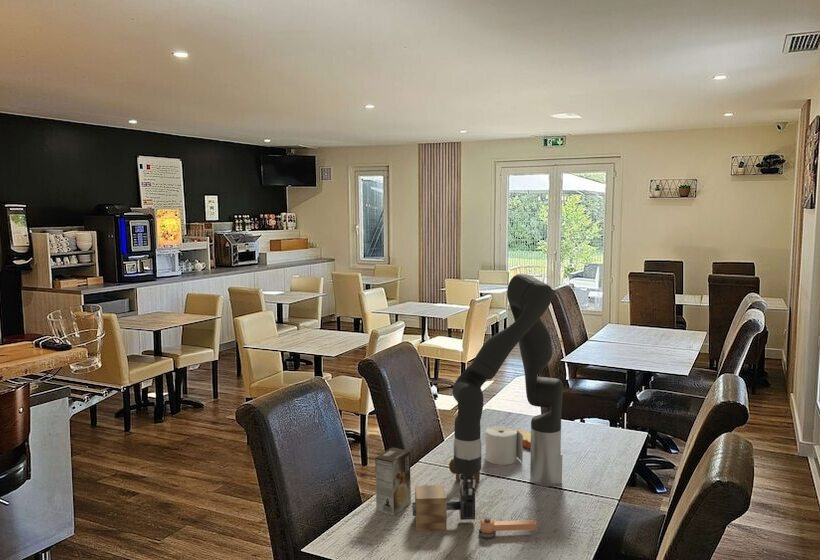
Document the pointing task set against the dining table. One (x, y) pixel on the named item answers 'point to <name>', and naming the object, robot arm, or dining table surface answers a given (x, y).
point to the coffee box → (393, 481)
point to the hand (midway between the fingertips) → (467, 513)
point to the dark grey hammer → (455, 507)
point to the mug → (451, 467)
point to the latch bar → (506, 525)
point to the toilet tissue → (503, 445)
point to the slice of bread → (526, 439)
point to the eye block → (431, 507)
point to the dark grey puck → (487, 535)
